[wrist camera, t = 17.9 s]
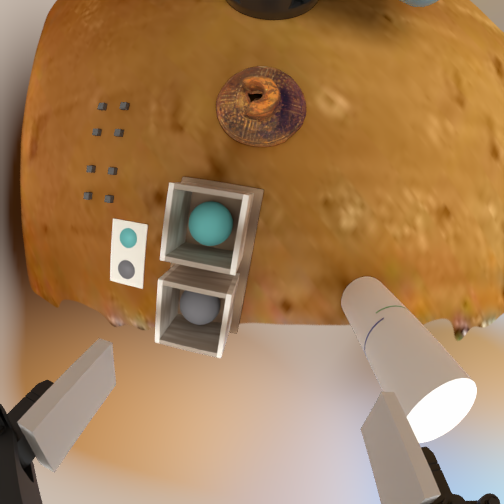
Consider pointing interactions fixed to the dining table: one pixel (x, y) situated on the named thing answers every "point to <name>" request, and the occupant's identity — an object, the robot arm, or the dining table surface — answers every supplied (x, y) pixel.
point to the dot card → (128, 252)
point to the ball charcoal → (199, 307)
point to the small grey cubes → (98, 133)
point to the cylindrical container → (408, 360)
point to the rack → (205, 264)
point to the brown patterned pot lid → (261, 107)
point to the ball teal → (210, 223)
